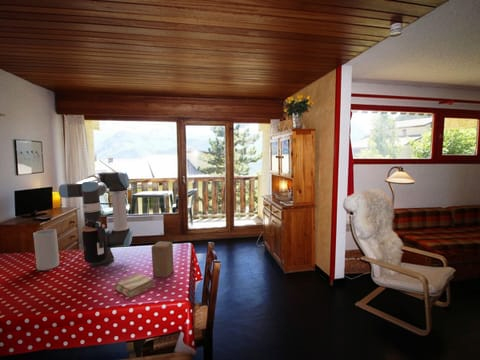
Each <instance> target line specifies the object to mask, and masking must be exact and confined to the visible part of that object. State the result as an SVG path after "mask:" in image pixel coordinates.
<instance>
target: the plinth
mask: <svg viewBox="0 0 480 360" xmlns="http://www.w3.org/2000/svg"><path fill="white" fill-rule="evenodd" d="M153 287H155V280H154V279H152V278H151V277H149V276H146V275H144V274H142V273H139V272H138V273H135V274H133V275H131V276H129V277H127V278H124V279H122V280H120V281H117V282H116V283H115V290H116V291H118V292H120V293H121V294H122V295H125V296H127V297H128V298H133V297H134V296H136V295H137V296H138V295H139V294H140V293H143V292H144V291H147V290H149V289H150V288H153Z"/></svg>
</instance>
